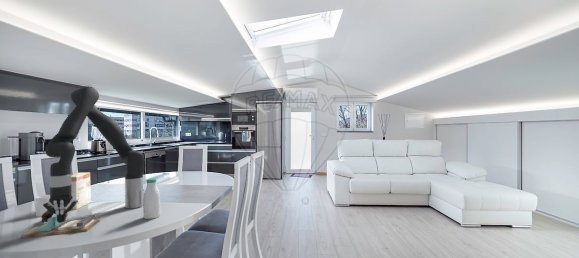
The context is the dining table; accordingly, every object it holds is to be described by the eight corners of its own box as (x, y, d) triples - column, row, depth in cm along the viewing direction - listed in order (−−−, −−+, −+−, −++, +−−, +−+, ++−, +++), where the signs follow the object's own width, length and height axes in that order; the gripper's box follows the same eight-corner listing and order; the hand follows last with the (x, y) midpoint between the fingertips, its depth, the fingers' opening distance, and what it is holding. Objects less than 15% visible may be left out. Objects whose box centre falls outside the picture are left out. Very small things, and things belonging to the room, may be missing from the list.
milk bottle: (163, 215, 134) (163, 177, 134) (151, 220, 127) (150, 180, 127) (152, 213, 136) (152, 177, 137) (140, 218, 129) (139, 180, 129)
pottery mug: (46, 219, 132) (57, 204, 134) (64, 226, 132) (74, 211, 135) (29, 221, 120) (41, 204, 123) (49, 229, 121) (60, 212, 124)
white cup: (41, 217, 134) (41, 198, 134) (30, 216, 135) (30, 197, 135) (58, 212, 141) (57, 194, 141) (47, 211, 143) (46, 194, 143)
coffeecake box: (78, 203, 159) (78, 172, 159) (91, 202, 161) (91, 172, 161) (62, 210, 145) (62, 176, 145) (76, 209, 146) (76, 176, 146)
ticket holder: (100, 221, 126) (99, 213, 126) (87, 231, 114) (87, 222, 114) (41, 226, 120) (41, 218, 120) (20, 238, 107) (20, 229, 107)
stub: (62, 223, 120) (62, 213, 120) (50, 230, 112) (50, 219, 112) (49, 224, 119) (49, 214, 119) (36, 232, 110) (36, 221, 110)
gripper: (81, 182, 122) (82, 217, 122) (48, 184, 118) (49, 220, 118) (73, 185, 115) (74, 223, 115) (37, 187, 111) (38, 226, 111)
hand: (61, 222), depth 116 cm, fingers closed
